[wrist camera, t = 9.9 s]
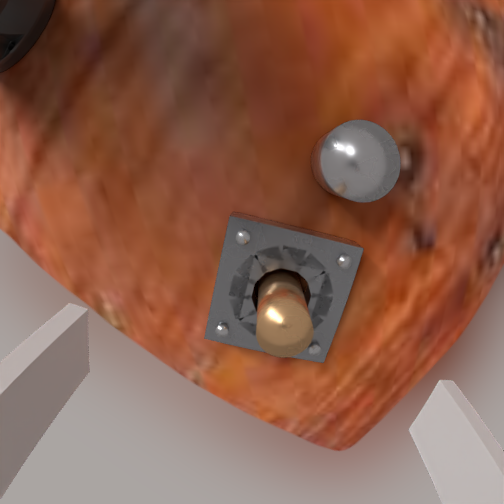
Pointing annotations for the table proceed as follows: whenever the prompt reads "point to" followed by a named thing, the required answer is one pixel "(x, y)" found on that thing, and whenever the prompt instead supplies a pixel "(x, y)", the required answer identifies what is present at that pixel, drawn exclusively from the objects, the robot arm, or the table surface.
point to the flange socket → (271, 258)
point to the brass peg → (282, 314)
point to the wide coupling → (356, 161)
